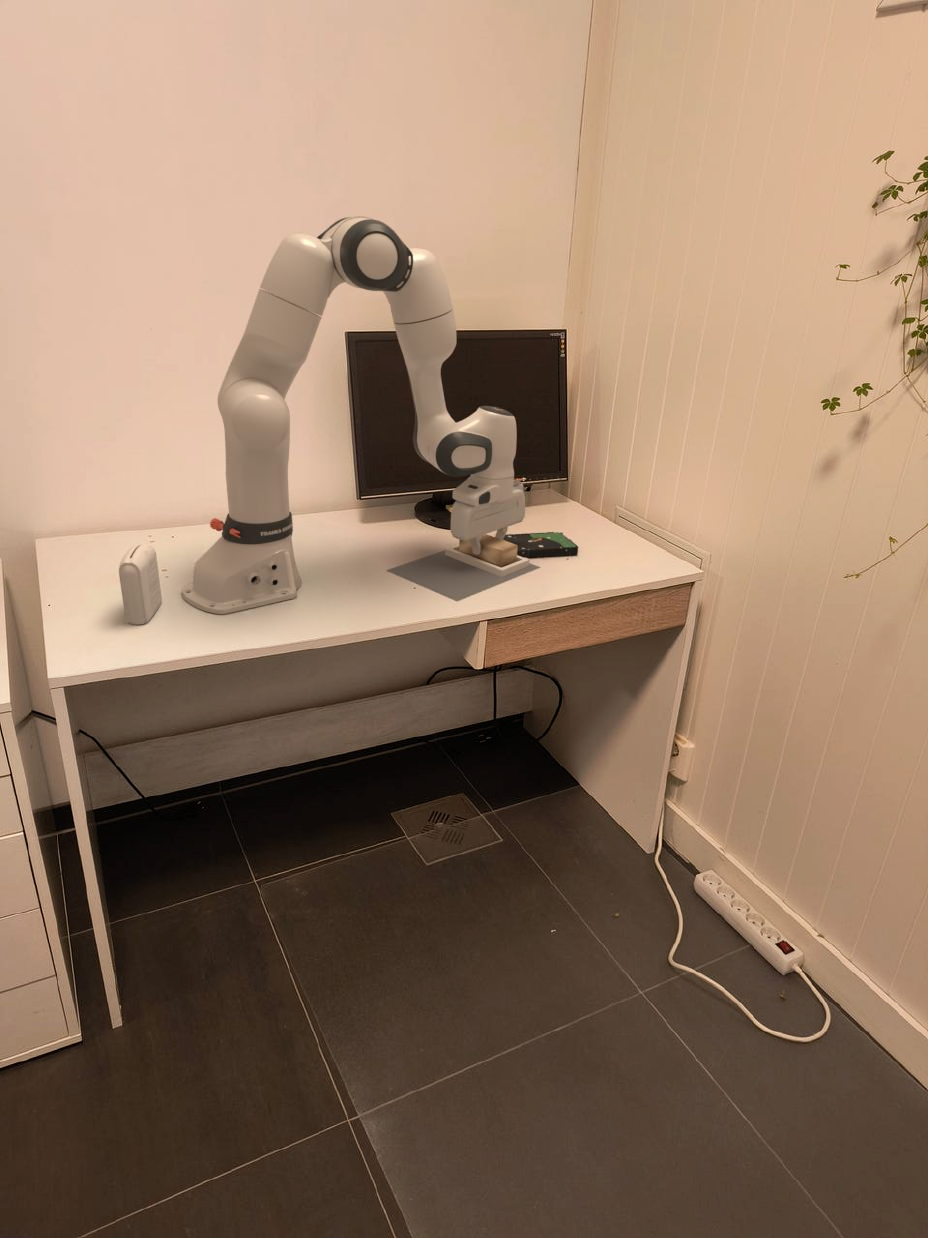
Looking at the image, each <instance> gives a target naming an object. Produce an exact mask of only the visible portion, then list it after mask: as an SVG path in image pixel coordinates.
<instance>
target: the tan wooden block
mask: <svg viewBox="0 0 928 1238" xmlns="http://www.w3.org/2000/svg"><path fill="white" fill-rule="evenodd" d="M458 541H459V542H458V544H459V551H461V552H464V553H467V554H469V555H472V556H475V557H477V558H480V559H482V560H485V561H488V562H490V563H493V564H496V565H498V566H501V567H502V566H504V565H507V564H509V563H512V562H515V561H516V559H517V548H518V545H515V544H513V543H510V542H507V541H504V540H501V539H499V538H496V537H495V536H493V535H490V534H488V533H487V534H484V535H481V540H479V542H480V545H482V546H483V553H481V554H479V555H476V554H474V553H473V552H472V548H473V545H472V544H471V542H470V539H469V540H466V541H462V540H459V539H458Z"/></svg>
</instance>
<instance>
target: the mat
mask: <svg viewBox="0 0 928 1238" xmlns="http://www.w3.org/2000/svg"><path fill="white" fill-rule="evenodd" d="M540 568H541V566H538V565H536V564H533V563H531V562H530V559H528V558H523V557H521V556H518V555H517V559H516V561H515V562H512V563H509V564H507V565H504V566H502V567H501V566H498V565H496V564H493V563H490V562H488V561H485V560H482V559H480V558H477V557H475V556H472V555H469V554H467V553H464V552H461V551H459V543H458V544H455V545H452V546H449V547H446V548H445V550H442V551H439V552H436V553H433V554H430V555H427V556H424V557H421V558H418V559H415V560H412V561H410V562H409V561H408V562H406V563H403V564H400V565H397V566H394V567H392V568H388V569H386V570H385V571H386V572H388V573H391V574H393V575H395V576H397V577H400V578H403V579H405V580H406V581H407V580H408V581H410V582H411V583H414V584H416V585H418V586H421V587H423V588H425V589H427V590H430V591H432V592H435V593H436V594H439V595H441V596H444V597H445V598H448V599H451V600H453V601H455V602H458V601H462V600H464V599H466V598H469V597H471V596H474V595H476V594H479V593H482V592H483V591H486V590H489V589H491V588H493V587H496V586H498V585H501V584H504V583H506V582H508V581H511V580H513V579H516V578H518V577H520V576H521V577H522V575H525V574H528V573H530V572H533V571H536V570H538V569H540Z"/></svg>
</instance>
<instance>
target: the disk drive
mask: <svg viewBox="0 0 928 1238" xmlns="http://www.w3.org/2000/svg"><path fill="white" fill-rule="evenodd" d="M503 540H504V541H507V542H510V543H513V544H515V545H518V548H517V555H518V556H521V557H523V558H526V559H529V560H531V559H547V558H565V557H566V558H567V557H577V556H578V553H579V546H578V545H577V544H576V543H575V542H573V540H572V539H570V538H568V536H566V535H564V532H558V531H556V532H554V531H549V532H531V533H525V532H524V533H509V534H508V533H506V534H505V537H504V539H503Z"/></svg>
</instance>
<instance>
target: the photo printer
mask: <svg viewBox="0 0 928 1238" xmlns="http://www.w3.org/2000/svg"><path fill="white" fill-rule="evenodd" d="M159 573H160V572H159V567H158V558H157V552H156V549H155V548H154V546H153V545H151V544H150V543H145V542H144V543H140V542H139V543H136V544H134V545H132V546H131V547H130V548H129V549H128V550H127V551H126V552H125V554H124V555H123V556H122V559H121V560H120V563H119V566H118V575H119V584H120V590H121V596H122V603H123V610H124V617H125V621H126V623H129V624H130V625H134V626H135V625H143V624H146V623H148V622H149V621H150V620H151V619H152V618H153V617H154V615H155V613H157V610H158V609H159V608H160V607H161V604H162V600H163V599H162V589H161V581H160V574H159Z"/></svg>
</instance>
